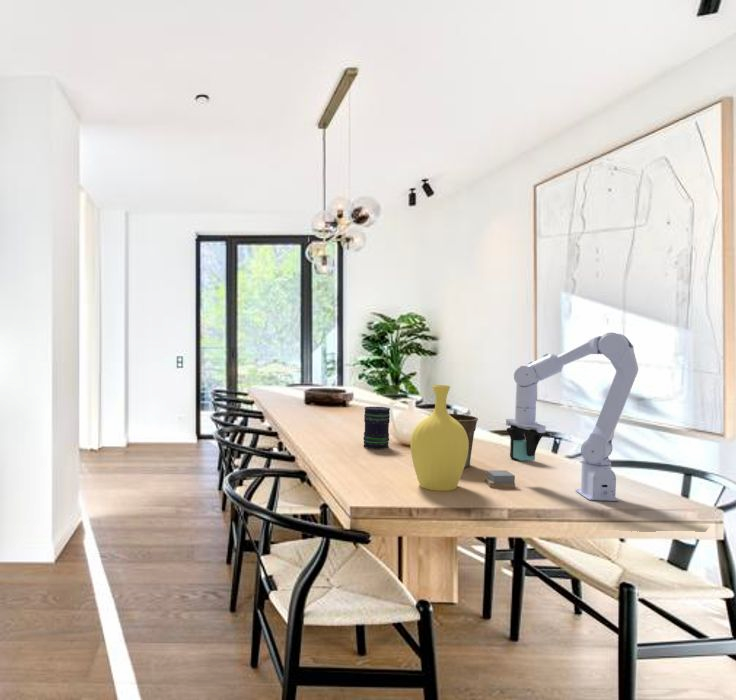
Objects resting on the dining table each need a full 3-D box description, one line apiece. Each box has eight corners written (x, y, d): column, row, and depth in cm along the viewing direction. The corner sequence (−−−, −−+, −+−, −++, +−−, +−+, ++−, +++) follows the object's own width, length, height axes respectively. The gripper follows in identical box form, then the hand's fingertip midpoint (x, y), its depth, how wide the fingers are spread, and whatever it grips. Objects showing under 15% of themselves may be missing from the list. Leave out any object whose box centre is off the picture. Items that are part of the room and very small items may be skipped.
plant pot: (484, 464, 177) (485, 416, 177) (465, 473, 164) (466, 421, 164) (439, 457, 186) (441, 411, 186) (418, 465, 173) (420, 416, 173)
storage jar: (362, 444, 207) (363, 406, 207) (386, 444, 208) (388, 406, 208) (364, 449, 197) (365, 409, 197) (390, 449, 198) (391, 409, 198)
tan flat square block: (514, 490, 147) (515, 483, 147) (489, 490, 147) (490, 482, 147) (508, 484, 154) (508, 477, 154) (484, 483, 154) (484, 476, 154)
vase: (397, 485, 147) (400, 384, 147) (431, 476, 158) (434, 382, 158) (445, 497, 136) (449, 388, 136) (478, 486, 148) (481, 386, 148)
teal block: (534, 460, 152) (535, 443, 152) (520, 460, 151) (521, 443, 151) (526, 457, 157) (527, 440, 157) (513, 457, 156) (513, 440, 156)
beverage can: (516, 461, 184) (517, 427, 184) (506, 457, 190) (507, 424, 190) (532, 461, 186) (533, 427, 185) (522, 457, 192) (523, 424, 192)
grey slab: (514, 482, 148) (514, 475, 148) (494, 482, 148) (494, 475, 148) (506, 477, 154) (506, 470, 154) (486, 477, 154) (486, 470, 154)
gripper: (554, 410, 149) (552, 458, 149) (519, 404, 162) (517, 448, 162) (535, 410, 146) (533, 459, 146) (501, 404, 159) (499, 449, 159)
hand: (523, 453), depth 154 cm, fingers closed on teal block, 5 cm apart
